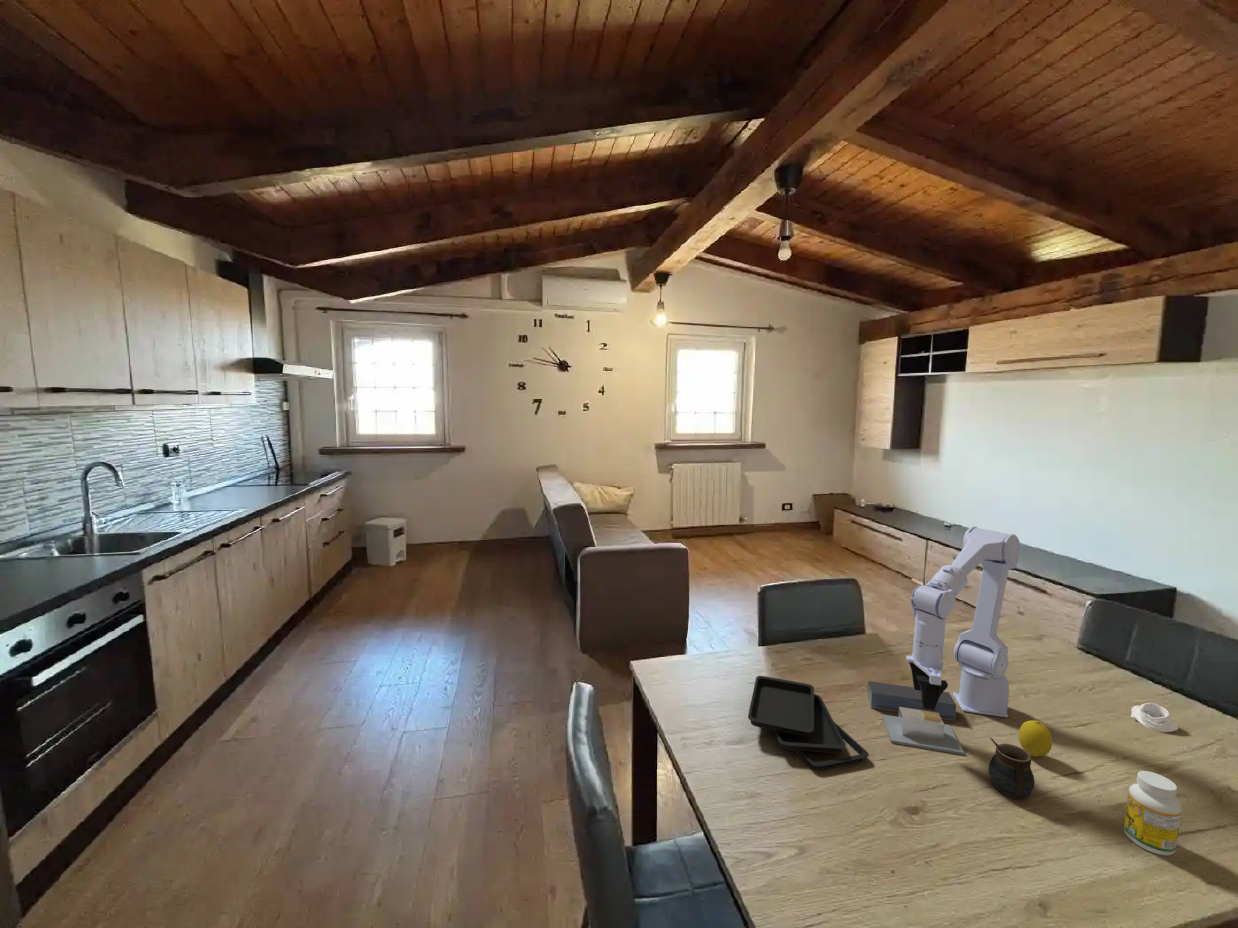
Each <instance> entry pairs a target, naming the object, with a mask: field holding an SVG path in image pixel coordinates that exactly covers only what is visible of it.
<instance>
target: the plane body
mask: <svg viewBox="0 0 1238 928" xmlns="http://www.w3.org/2000/svg"><path fill="white" fill-rule="evenodd" d="M867 683H868V684H867V695H866V696H867V699H868V703H869V706H870V708H871V709H875V710H883V711H889V712H895V713H899V707H903V708H910V709H917V710H923V711H930V712H936V713H939V715H940V717H941V719H942V720H945V721H951V722H955V721H956V711H957V704H956V702H955V700H954V699H953V696H952V695H951V693H950V692H948V691H943V693H942V694H941V696H940V697H939V700H938V702H937V705H936V707H935V709H934V710H930V709H924V708H923V705H922V697H921V691H920V690H915V689H914V686H906V685H899V684H891V683H884V682H880V681H879V682H878V681H871V680H868V682H867Z"/></svg>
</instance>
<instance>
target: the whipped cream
mask: <svg viewBox="0 0 1238 928" xmlns="http://www.w3.org/2000/svg"><path fill="white" fill-rule="evenodd" d="M1130 710H1131V711H1130V712H1131V714H1130V717H1131V718H1132V719H1136V720H1137V722H1138V723H1139V724H1141V725H1142V726H1143V727H1145V728H1147V729H1151V730H1152V731H1153V730H1154V731H1156V732H1157V731H1158V732H1162V733H1170V732H1175V731H1177V730H1178V729H1179V728H1180V725H1179V724H1178V723H1177V722H1176V721H1175V720H1173V719H1172V717H1171V713H1170V712H1169V711H1168V710H1167V709H1166V708H1165V707H1163V706H1161V705H1159V704H1157V703H1153V702H1145V703H1142V704H1141V705H1134V706H1132V707H1131V709H1130Z"/></svg>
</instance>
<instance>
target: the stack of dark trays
mask: <svg viewBox="0 0 1238 928" xmlns="http://www.w3.org/2000/svg"><path fill="white" fill-rule="evenodd" d="M752 691H753V692H752V695H751V701H750V706H749V709H748V715H747V718H748V720H749V721H750V724H751V725H752V726H754V727H757V728H762V729H766V730H772V731H774V732H775V735H776V738H777V741H778V745H779V747H780V748H781V749H783V750H785V751H794V752H795V753H796V754H797V755H798V756H799V757H800V759H802V760H803V761H804V763H806V765H807V766H808V767H809V768H810V769H812V770H816V771H818V770H823V769H824V770H825V769H828V768H829V769H830V768H834V767H835V768H836V767H838V766H839V767H840V766H844V765H849V764H855V763H859V762H862V761H863V760H864V759H865V758H868V757H869V756H870V754H869V752H868V751H867V750H866V748H864V747H863V746H861V744H859V743H858V741H856V740H855V739H854V737H852V736H851V735H849V734H848V733H847V732H846V731H845V730H844V729H843V728H842V727H841V726H840V725H838V724H837V723H836V722H835V721H834V719H833V718H832V716H831V713H830V712H829V710H828V707H827V706H826V704H825V702H824V700H823V698H822V697H821V696H820V695H818V694H815V687H814V686H813V685H812V684H809V683H804V682H800V681H799V682H798V681H795V680H789V679H782V678H776V677H770V676H767V675H765V676H764V675H758V676H756V677H755V682H754V686H753V690H752ZM845 742H846V743H847V744H848V745H849V746H850V748H852V749H853V750H854V751H855V752H856V753H857V754H855V755H851V756H845V757H840V758H839V757H838V758H836V759H835V758H834V759H830V760H824V761H819V762H816V761H814V760H811V759H810V758H809V757H808V755H806V754H805V752H813V753H815V752H816V753H827V754H828V753H829V754H831V753H832V754H839V753H841V752H842V750H844V749H846V747H847V744H846V743H845Z"/></svg>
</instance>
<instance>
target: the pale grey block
mask: <svg viewBox="0 0 1238 928" xmlns="http://www.w3.org/2000/svg"><path fill="white" fill-rule="evenodd" d="M897 717H898V725H899V728H900V730H901V733H902V735H905V736H911V737H917V738H923V739H929V740H935V741H941V742H943V735H944V724H945V723H944V720H943V719H941V717H940V715H939V713H936V712H930V711H923V710H917V709H910V708H903V707H899V712H898V716H897Z"/></svg>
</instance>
